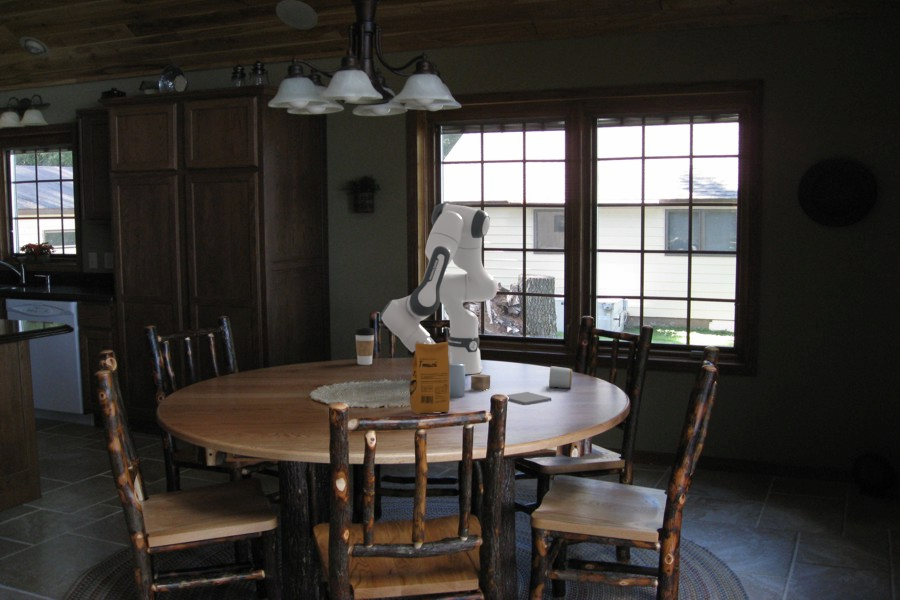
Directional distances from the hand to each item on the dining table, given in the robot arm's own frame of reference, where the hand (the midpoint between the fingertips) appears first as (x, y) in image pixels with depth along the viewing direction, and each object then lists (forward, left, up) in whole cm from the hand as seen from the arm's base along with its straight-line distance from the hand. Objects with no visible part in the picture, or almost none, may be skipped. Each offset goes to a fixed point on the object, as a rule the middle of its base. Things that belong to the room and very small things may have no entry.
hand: (445, 368), depth 291 cm
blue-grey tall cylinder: (+2, +3, -9) cm, 10 cm away
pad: (+20, +19, -9) cm, 29 cm away
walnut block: (-2, +17, -9) cm, 19 cm away
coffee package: (+15, -18, -10) cm, 26 cm away
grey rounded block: (+11, +44, -10) cm, 46 cm away
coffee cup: (-69, +10, -9) cm, 71 cm away
